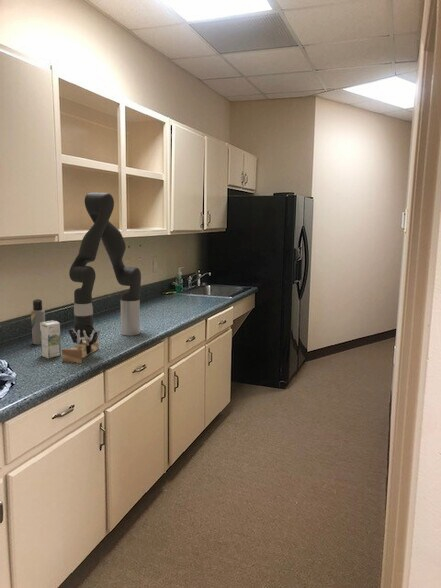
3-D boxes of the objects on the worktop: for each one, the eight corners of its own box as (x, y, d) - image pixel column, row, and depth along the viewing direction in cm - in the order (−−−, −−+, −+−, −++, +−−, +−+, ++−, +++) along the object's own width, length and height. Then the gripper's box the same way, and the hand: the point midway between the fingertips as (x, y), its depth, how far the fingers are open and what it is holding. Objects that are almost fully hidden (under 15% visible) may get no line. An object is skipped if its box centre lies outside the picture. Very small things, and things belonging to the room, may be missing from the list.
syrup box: (53, 353, 194) (52, 319, 191) (61, 355, 190) (60, 322, 187) (41, 356, 189) (39, 322, 187) (48, 359, 186) (47, 324, 183)
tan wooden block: (87, 347, 202) (86, 336, 201) (103, 349, 200) (103, 338, 199) (62, 361, 183) (61, 349, 183) (80, 363, 182) (79, 351, 181)
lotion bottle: (47, 341, 210) (46, 298, 207) (43, 344, 205) (41, 301, 201) (35, 341, 210) (33, 298, 207) (30, 344, 205) (28, 301, 201)
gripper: (103, 312, 192) (104, 352, 195) (73, 310, 195) (74, 349, 198) (94, 316, 184) (95, 357, 187) (63, 313, 187) (64, 354, 190)
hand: (84, 353), depth 192 cm, fingers closed on tan wooden block, 3 cm apart
